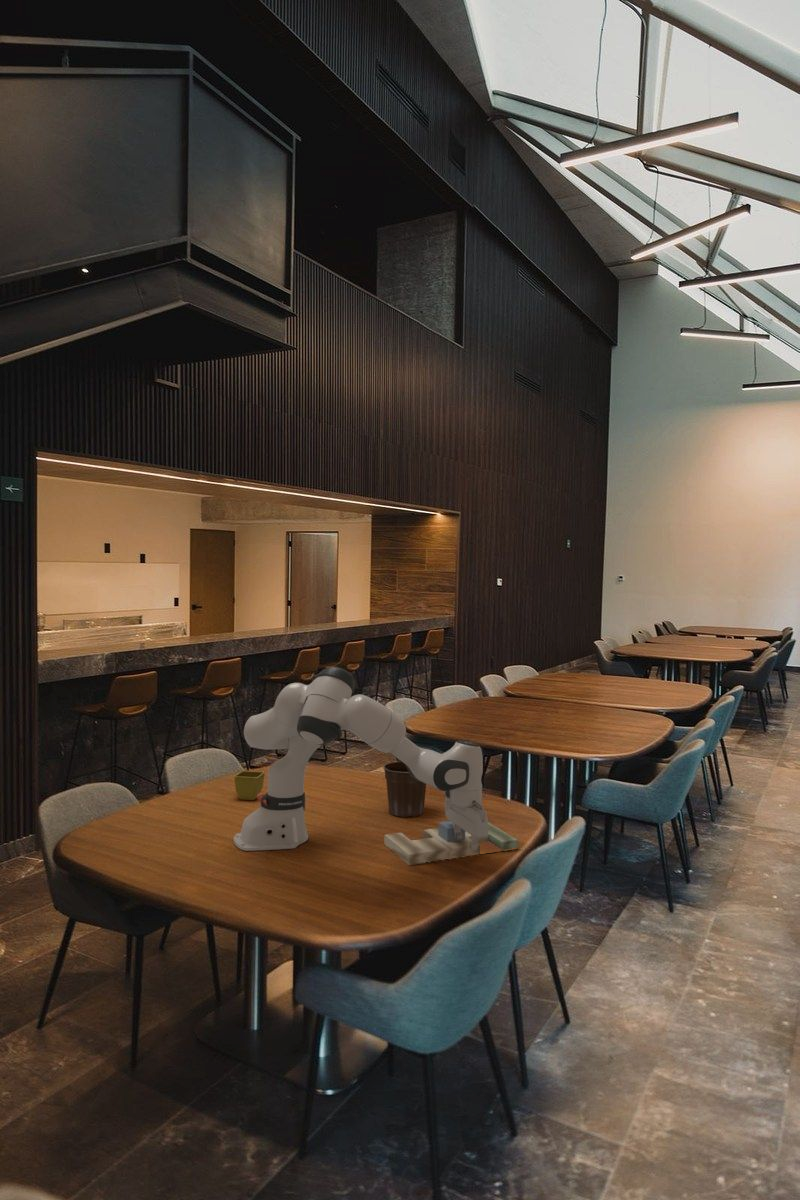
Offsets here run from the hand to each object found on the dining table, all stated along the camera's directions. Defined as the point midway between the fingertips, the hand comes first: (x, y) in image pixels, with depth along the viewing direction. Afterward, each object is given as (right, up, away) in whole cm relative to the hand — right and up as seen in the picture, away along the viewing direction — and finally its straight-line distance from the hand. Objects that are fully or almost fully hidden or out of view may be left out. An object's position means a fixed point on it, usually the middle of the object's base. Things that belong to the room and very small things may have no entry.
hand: (465, 843), depth 222 cm
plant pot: (-17, -3, +42) cm, 46 cm away
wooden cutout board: (-4, -4, +9) cm, 10 cm away
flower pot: (-74, -1, +54) cm, 92 cm away
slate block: (-4, -1, +8) cm, 9 cm away
